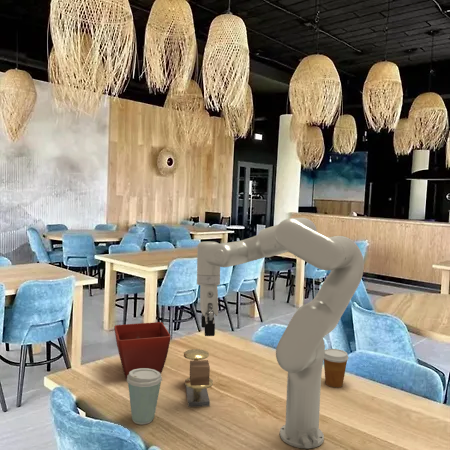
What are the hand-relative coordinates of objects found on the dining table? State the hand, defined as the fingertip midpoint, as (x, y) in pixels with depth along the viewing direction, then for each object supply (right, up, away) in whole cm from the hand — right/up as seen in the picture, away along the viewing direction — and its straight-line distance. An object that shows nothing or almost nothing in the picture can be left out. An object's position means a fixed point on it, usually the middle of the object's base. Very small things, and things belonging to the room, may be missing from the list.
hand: (207, 331), depth 145 cm
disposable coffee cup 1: (-19, -25, -10) cm, 33 cm away
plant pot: (-27, -22, +26) cm, 43 cm away
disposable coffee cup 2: (+47, -25, +21) cm, 57 cm away
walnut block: (-3, -17, +1) cm, 17 cm away
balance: (-4, -24, +9) cm, 26 cm away
